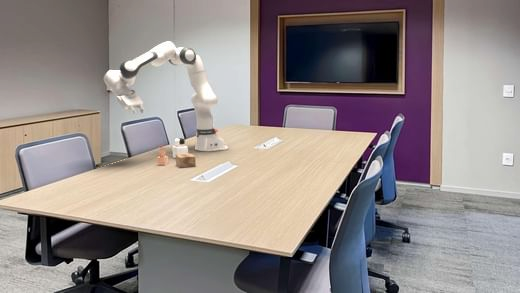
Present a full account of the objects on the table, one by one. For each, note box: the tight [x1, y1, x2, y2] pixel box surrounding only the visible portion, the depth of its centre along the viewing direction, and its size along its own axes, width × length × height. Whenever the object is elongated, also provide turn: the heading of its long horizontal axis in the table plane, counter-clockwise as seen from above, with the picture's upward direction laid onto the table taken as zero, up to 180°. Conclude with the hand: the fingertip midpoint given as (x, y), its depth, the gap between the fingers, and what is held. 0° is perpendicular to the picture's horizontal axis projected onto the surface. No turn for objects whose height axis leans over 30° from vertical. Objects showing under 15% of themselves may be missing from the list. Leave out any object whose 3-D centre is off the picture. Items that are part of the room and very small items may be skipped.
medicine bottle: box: [171, 137, 189, 159], centre depth 283 cm, size 7×7×12 cm
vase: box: [156, 146, 169, 166], centre depth 265 cm, size 5×5×10 cm
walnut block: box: [175, 153, 197, 169], centre depth 261 cm, size 9×9×6 cm
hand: (139, 112), depth 264 cm, fingers open, 8 cm apart
